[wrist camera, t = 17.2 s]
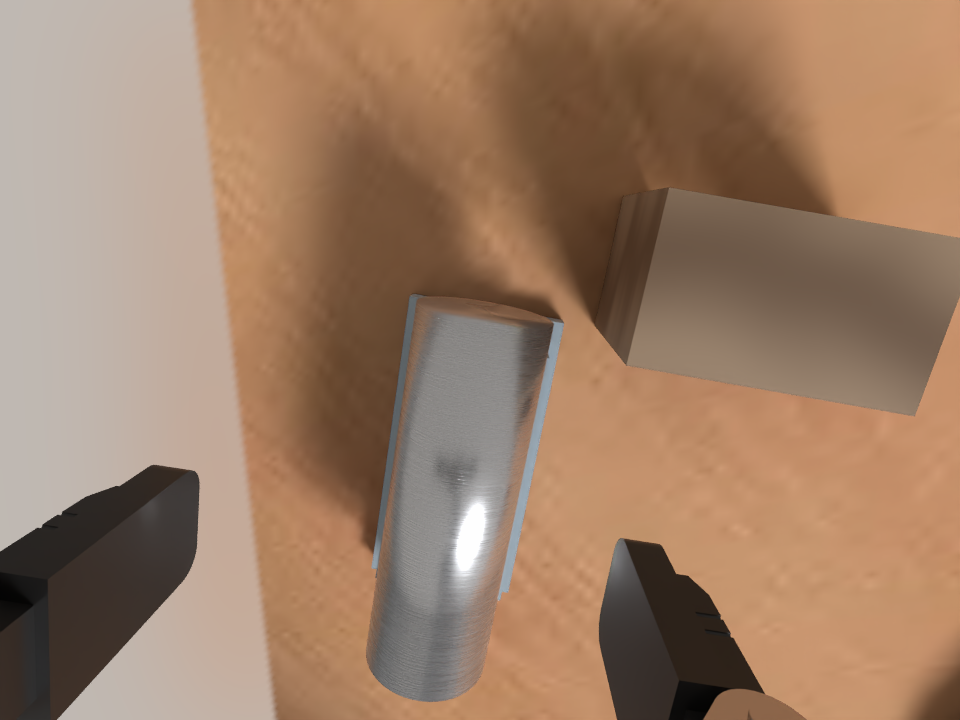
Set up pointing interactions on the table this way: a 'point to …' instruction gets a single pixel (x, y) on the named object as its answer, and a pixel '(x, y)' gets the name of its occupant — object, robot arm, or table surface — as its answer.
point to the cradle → (530, 456)
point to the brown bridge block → (778, 298)
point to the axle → (453, 491)
